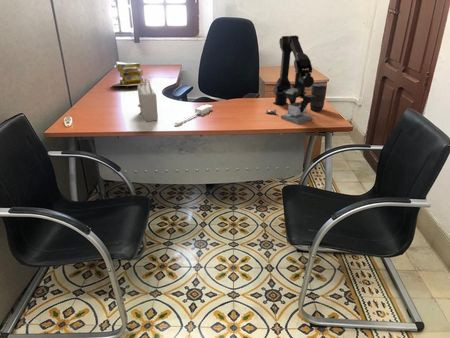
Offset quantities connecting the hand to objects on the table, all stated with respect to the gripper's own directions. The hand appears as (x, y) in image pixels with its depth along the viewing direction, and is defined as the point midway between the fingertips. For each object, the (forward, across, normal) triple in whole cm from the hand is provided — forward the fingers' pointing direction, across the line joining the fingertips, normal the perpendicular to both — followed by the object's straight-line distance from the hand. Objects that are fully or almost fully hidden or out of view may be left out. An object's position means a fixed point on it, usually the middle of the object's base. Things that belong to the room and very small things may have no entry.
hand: (297, 111), depth 189 cm
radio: (+5, -54, -62) cm, 82 cm away
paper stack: (+5, -120, -41) cm, 127 cm away
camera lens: (+5, -3, +21) cm, 22 cm away
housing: (+1, 0, 0) cm, 1 cm away
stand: (+4, 0, 0) cm, 4 cm away
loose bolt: (+4, -15, -5) cm, 16 cm away
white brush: (+5, -37, -42) cm, 56 cm away
